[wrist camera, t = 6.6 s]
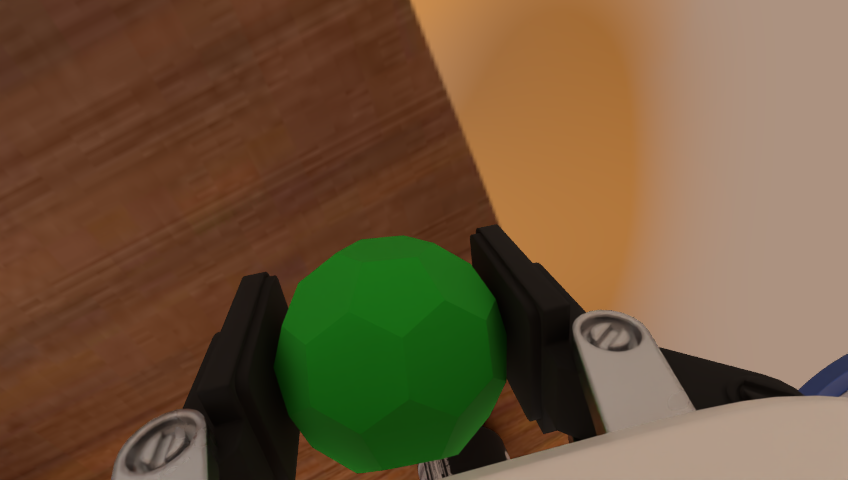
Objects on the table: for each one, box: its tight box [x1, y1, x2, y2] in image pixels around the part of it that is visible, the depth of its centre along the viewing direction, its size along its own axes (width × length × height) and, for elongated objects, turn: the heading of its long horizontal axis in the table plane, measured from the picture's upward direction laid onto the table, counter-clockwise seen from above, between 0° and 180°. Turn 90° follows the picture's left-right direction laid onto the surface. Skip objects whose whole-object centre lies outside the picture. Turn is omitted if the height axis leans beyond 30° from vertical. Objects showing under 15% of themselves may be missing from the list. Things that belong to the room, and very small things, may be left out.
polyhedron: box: [273, 235, 507, 473], centre depth 9 cm, size 5×5×5 cm
